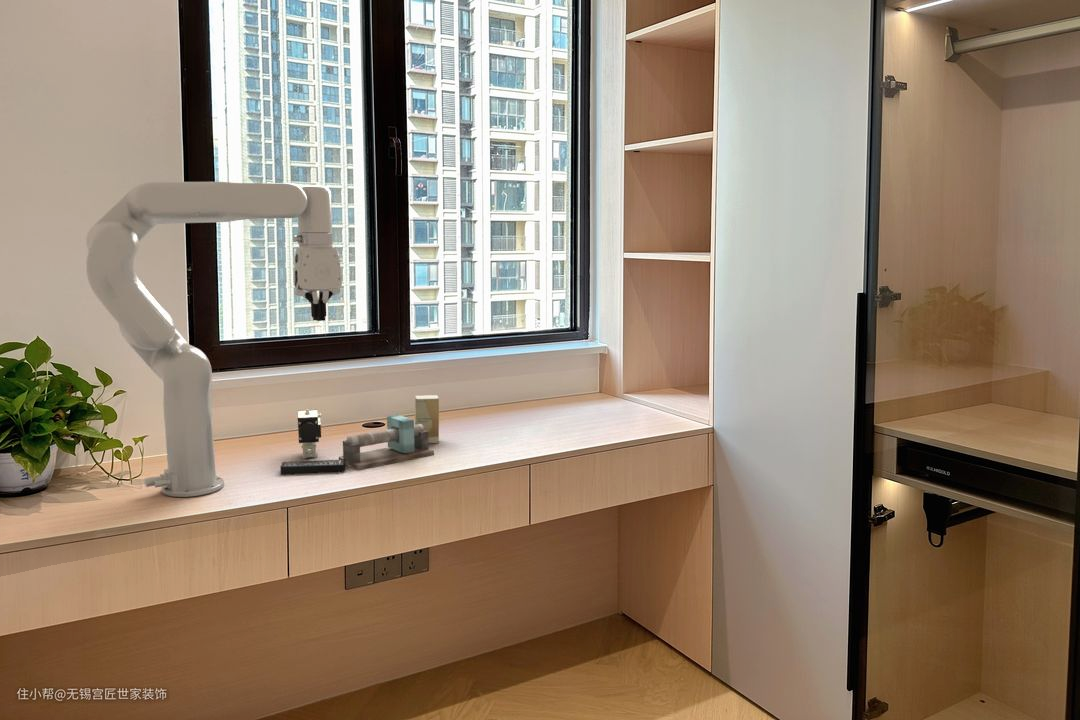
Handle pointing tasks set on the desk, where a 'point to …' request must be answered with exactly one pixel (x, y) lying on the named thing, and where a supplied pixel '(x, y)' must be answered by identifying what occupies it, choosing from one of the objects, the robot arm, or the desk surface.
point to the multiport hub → (313, 467)
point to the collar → (402, 433)
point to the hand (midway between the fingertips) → (319, 320)
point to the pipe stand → (386, 454)
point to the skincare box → (428, 415)
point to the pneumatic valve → (309, 431)
